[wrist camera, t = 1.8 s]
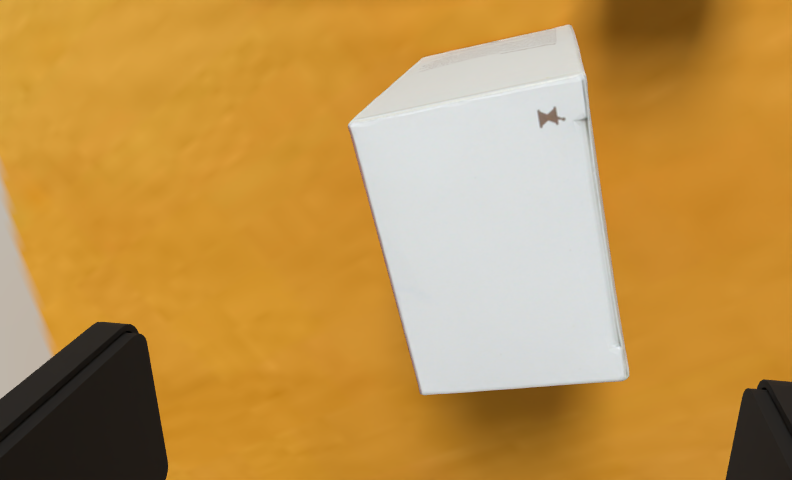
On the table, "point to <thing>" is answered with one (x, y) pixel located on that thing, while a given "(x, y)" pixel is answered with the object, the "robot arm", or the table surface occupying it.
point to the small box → (494, 217)
